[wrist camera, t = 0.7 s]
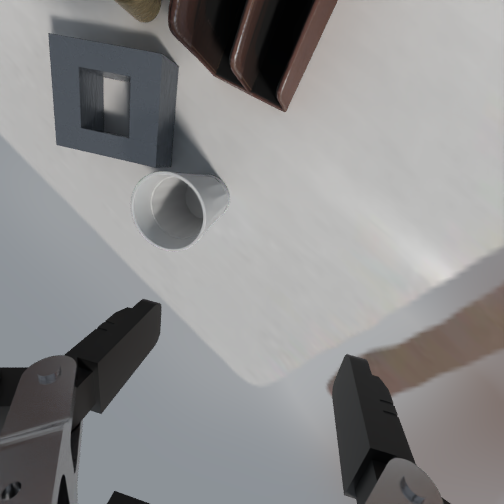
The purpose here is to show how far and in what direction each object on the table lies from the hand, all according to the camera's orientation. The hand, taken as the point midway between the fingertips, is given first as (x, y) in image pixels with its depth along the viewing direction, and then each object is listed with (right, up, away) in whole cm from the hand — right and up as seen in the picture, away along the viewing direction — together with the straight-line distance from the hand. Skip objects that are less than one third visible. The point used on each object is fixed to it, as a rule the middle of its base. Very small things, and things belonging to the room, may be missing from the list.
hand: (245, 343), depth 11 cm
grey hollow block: (-17, +23, +24) cm, 37 cm away
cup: (-6, +12, +26) cm, 29 cm away
